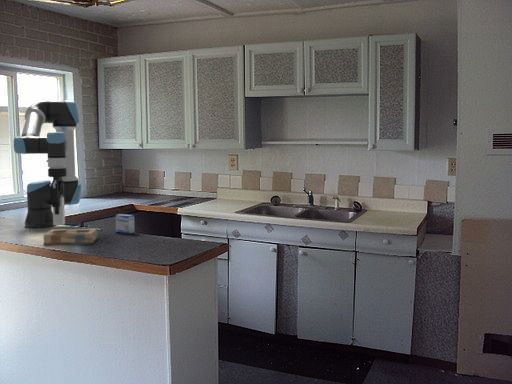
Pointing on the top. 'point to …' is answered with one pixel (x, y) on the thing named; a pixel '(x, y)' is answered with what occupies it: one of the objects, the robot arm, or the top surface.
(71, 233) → the socket block
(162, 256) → the top surface
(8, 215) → the top surface
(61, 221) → the plug
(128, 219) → the medicine box
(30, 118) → the robot arm
